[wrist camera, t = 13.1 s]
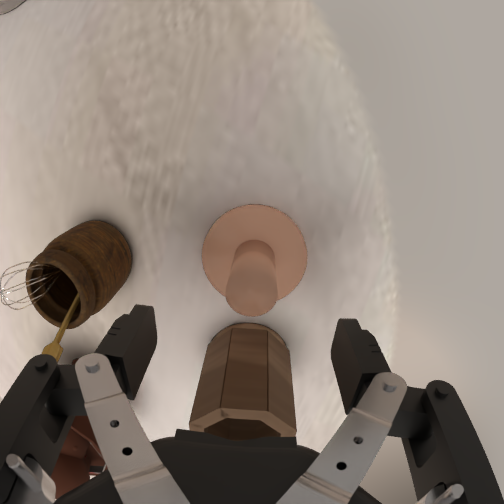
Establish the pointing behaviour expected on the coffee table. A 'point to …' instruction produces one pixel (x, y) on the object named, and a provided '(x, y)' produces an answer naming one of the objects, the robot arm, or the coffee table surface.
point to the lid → (254, 257)
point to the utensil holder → (76, 276)
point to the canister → (245, 386)
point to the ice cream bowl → (77, 457)
